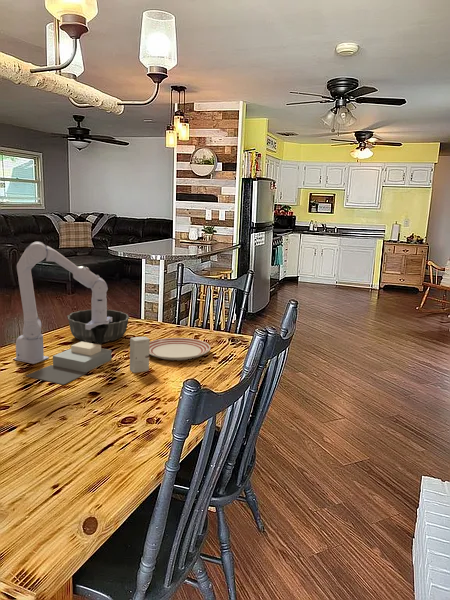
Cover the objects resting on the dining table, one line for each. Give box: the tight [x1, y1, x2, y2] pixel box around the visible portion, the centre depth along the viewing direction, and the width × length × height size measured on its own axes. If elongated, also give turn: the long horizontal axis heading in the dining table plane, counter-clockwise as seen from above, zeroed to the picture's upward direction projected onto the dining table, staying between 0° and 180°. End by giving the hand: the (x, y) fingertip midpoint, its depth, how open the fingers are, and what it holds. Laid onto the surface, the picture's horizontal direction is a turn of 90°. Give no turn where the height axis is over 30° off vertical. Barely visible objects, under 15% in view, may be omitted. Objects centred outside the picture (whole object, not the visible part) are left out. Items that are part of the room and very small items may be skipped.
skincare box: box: [129, 336, 151, 374], centre depth 169 cm, size 6×4×12 cm
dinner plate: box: [149, 337, 211, 362], centre depth 191 cm, size 27×27×3 cm
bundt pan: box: [66, 309, 130, 343], centre depth 206 cm, size 26×26×10 cm
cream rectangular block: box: [70, 341, 102, 355], centre depth 175 cm, size 9×6×2 cm, turn 68°
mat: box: [25, 364, 88, 386], centre depth 162 cm, size 16×12×1 cm
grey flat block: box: [52, 347, 112, 373], centre depth 174 cm, size 14×16×4 cm
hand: (99, 343), depth 182 cm, fingers closed
